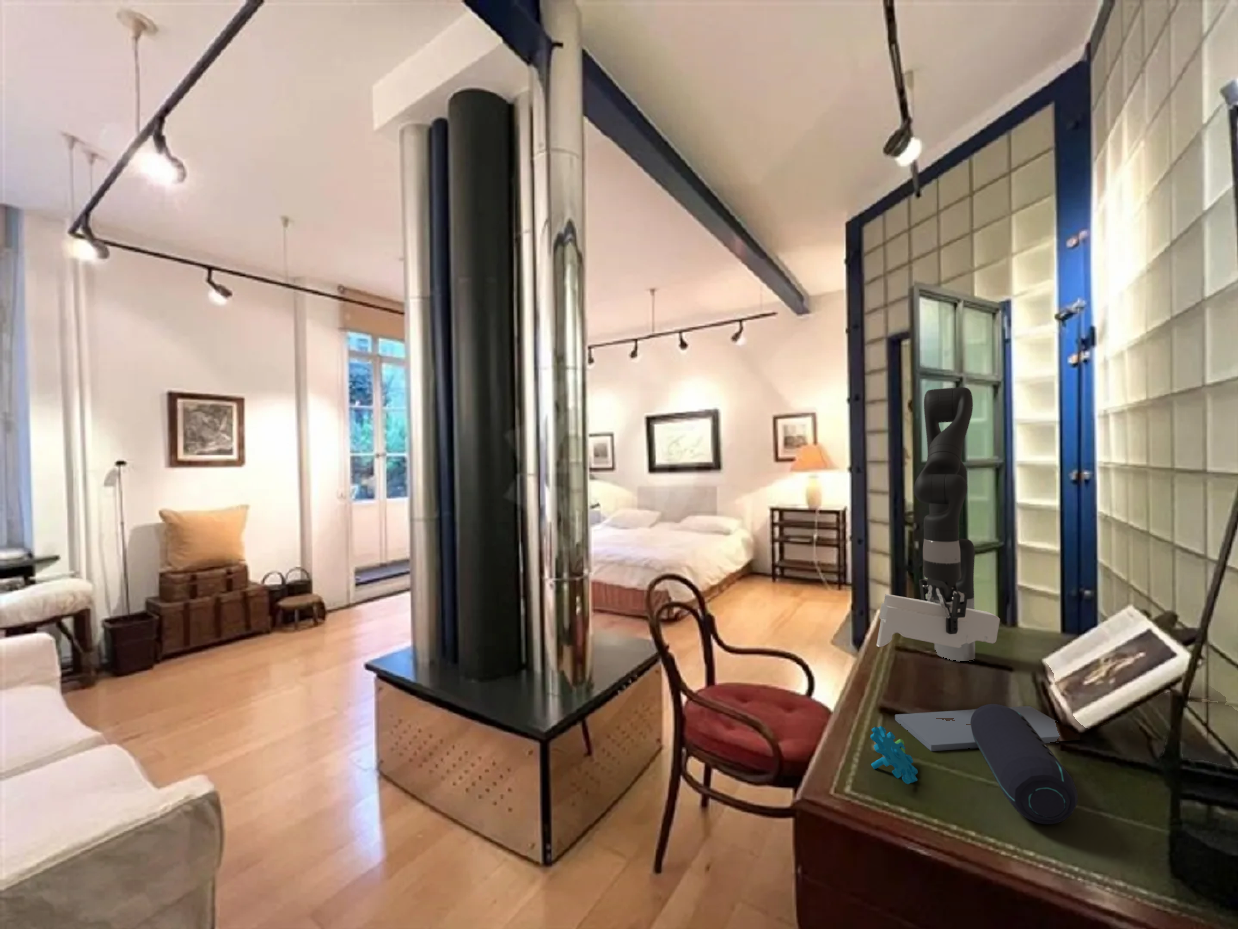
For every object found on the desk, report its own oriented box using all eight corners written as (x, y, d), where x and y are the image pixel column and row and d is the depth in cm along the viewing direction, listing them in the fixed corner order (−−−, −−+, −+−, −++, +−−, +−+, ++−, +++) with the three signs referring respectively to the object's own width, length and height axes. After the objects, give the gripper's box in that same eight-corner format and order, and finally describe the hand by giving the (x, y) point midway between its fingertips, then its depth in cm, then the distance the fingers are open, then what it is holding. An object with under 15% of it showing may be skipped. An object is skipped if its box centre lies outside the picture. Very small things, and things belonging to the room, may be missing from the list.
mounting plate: (895, 720, 115) (895, 714, 115) (1029, 711, 117) (1029, 706, 117) (931, 751, 103) (931, 745, 103) (1080, 740, 105) (1080, 735, 105)
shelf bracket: (873, 642, 129) (881, 592, 129) (980, 662, 126) (989, 611, 126) (882, 650, 123) (891, 597, 123) (994, 671, 121) (1003, 618, 121)
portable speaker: (1089, 843, 78) (1088, 777, 78) (1009, 828, 82) (1008, 765, 82) (1026, 751, 102) (1025, 700, 102) (966, 743, 105) (965, 693, 105)
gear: (911, 789, 89) (869, 732, 95) (884, 804, 92) (844, 747, 97) (928, 768, 97) (888, 716, 103) (903, 782, 100) (865, 731, 105)
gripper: (979, 564, 117) (980, 639, 118) (936, 551, 131) (937, 618, 132) (947, 566, 116) (948, 641, 117) (907, 553, 131) (908, 620, 131)
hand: (942, 628), depth 124 cm, fingers closed on shelf bracket, 5 cm apart
